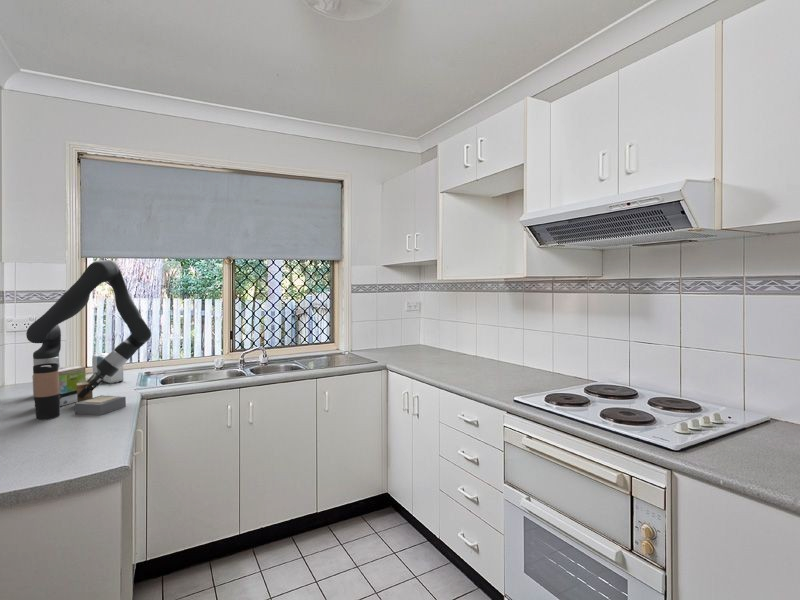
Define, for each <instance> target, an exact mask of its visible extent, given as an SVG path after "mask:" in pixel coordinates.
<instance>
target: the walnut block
mask: <svg viewBox="0 0 800 600" xmlns="http://www.w3.org/2000/svg"><path fill="white" fill-rule="evenodd" d="M87 385H88V382H83V383H77V402H81V401H84V400H87V399H91V398H94V397H93V391H89V392H88V393H87V394H86V395H85V396H84V397H83V398H80V397H78V394H79V393H80V392H81V391H82V390H83V389H84V388H85V387H86V386H87ZM91 387H93V386H92V385H91ZM85 389H86V388H85ZM77 402H76V403H77Z"/></svg>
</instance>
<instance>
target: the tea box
mask: <svg viewBox="0 0 800 600" xmlns="http://www.w3.org/2000/svg"><path fill="white" fill-rule="evenodd" d="M58 374H59V391H60V407H61V406H66V405H68V404H69V405H70V404H75V403H77V383H83V382H86V381H87V380H86V379H87V378H86V366H77V365H76V366H74V365H73V366H71V365H67V366H66V365H65V366H60V368H58Z"/></svg>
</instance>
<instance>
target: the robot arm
mask: <svg viewBox="0 0 800 600" xmlns="http://www.w3.org/2000/svg"><path fill="white" fill-rule="evenodd" d="M106 282H108V285H110V286H111V288H112V290H113V294H114V301H115V306H116V310H117V312H118V314H119V315H120V317H121V319H122V320H123V321H124V323H125V325H127V327H128V330H129V331H130V335H129V336H128V337H127V338H126V339H124V341H122V342H120V343H121V344H120V343H119V344H118V345H117V346H115V348H114V349H113V350H111V351H110V352H108V353H109V354H108V355H107V356H106V357H105V358H104V359H103V360H102V361H101V362H100V363H99V364H98V365H97V366H96V367H97V368H98V369H99V371H98V372H95V373H94V374H93V373H92V374H91V376H90V377H89V378H88V379H87V380H86V382H88V385H87V386H86V387H85V388H86V389H85V388H84V389H83V390H82V391H81V392H80V393H79V394H78V397H80V398H83V397H84V396H85V395H86V394H87V393H88V392H89V391H92V392H94V390H95V389H96V388H97V387H98V386H99V385H101V384H102V383H103V382H104V381H103V380H104V379H103V378H104V377H105V376H106V375H108V376H109V377H112V376H113V375H114V374H115V373H116V372H117V371H118V370H119V369H120V368H121V367H122V366H123V367H124V365H125V364H126V363H127V362H128V360H129V359H131V358H132V356H134V355H135V353H136V352H137V351H138V350H139V349H140V348H141V347H143V346H144V344H146V343H147V342H148V341H149V340H150V339H151V337H152V332H151V329H150V328H149V326H148V325H147V323H146V322H145V320H144V318H143V317H142V315H141V311H139V309H138V307H137V306H136V304H135V302H134V300H133V299H132V296H131V295H130V292H129V289H128V287H127V284H126V282H125V279H124V277H123V274H122V271H121V269H120V267H119V265H118V263H116V261H114V260H111V259H105V260H98V261H97V260H96V261H93V262H92V263H90V264H89V265H88V266H87V268H85V270H84V272H83V273H82V274H81V276H80V277H79V278H78V279H77V280H76V281H75V283H74V284H72V286H71V287H70V288H69V289H67V290H66V291H65V292H64V293H63V294H62V295H61V296H60V297H59V298H58V299H57V300H56V302H55V303H54V304H52V306H51V307H50V308H49V309H48V310H47V311H45V312H44V313H43V314H42V315H41V316H40V317H39V318H38V319H37V320H35V321H33V322H32V324H30V325H29V327H28V328H27V329H26V332H25V333H26V334H25V335H26V340H28V342H29V343H32V344H41V346H40V347H39V348H38V349H36V350H35V351H34V352H33V354H32V360H33V361H32V362H33V363H32V364H33V366H35V365H39V364H47V363H57V364H58V368H60V367H61V366H60V352H61V347H62V342H61V341H62V332H61V328H60V325H59V324H61V323H64V322H65V321H68V320H69V319H71V318H73V317H75V316H76V315H78V313H80V312H81V311H82V310H83V309H84V308H85V307H86V305H87V304H88V302H89V300H90V296H91V293H92V292H93V291H94V290H95V289H96V288H97V287H98V286H100V284H103V283H106ZM31 378H32V394H33V397H34V380H33V375H32V377H31ZM91 385H92V387H91Z"/></svg>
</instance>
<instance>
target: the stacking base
mask: <svg viewBox="0 0 800 600" xmlns="http://www.w3.org/2000/svg"><path fill="white" fill-rule="evenodd" d="M126 398H127V397H126V396H120V395H118V396H117V395H103V394H101V395H98V396H95V397H93V398H91V399H87V400H84V401H81V402H74V414H76V413H77V414H79V415H91V416H92V415H94V416H95V415H96V416H103V415H105V414H108V413H110V412H113V411H116V410H120V409H123V408H125V407H127V404H126V403H127V401H126Z"/></svg>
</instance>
